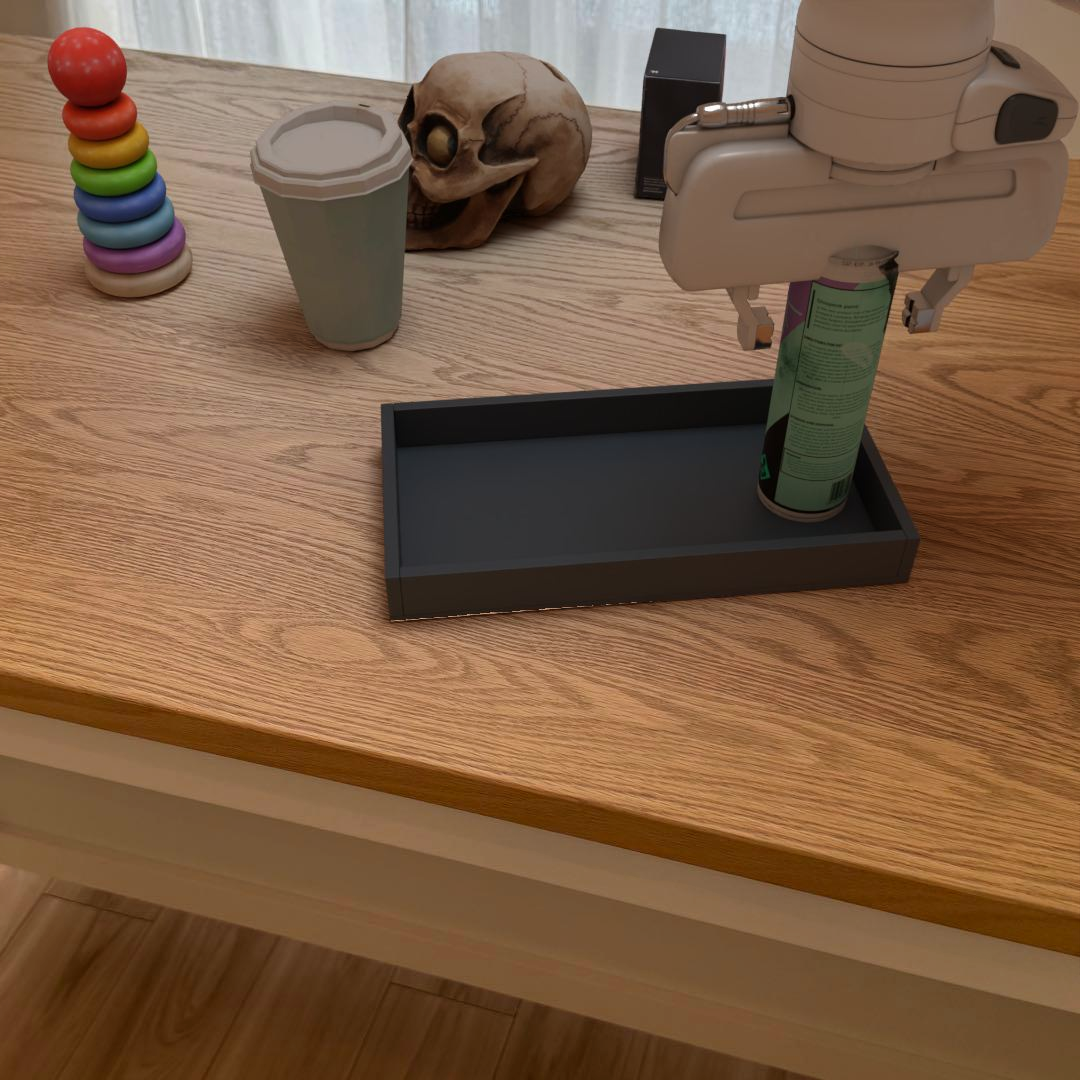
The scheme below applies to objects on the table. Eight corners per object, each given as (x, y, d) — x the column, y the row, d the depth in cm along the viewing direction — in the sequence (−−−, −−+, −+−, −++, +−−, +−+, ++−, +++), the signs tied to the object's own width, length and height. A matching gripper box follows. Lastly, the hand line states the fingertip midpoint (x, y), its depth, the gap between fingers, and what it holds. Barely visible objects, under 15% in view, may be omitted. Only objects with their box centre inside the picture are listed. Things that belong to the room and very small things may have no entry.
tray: (832, 417, 82) (841, 373, 80) (908, 582, 71) (921, 538, 69) (385, 447, 80) (380, 403, 78) (390, 623, 69) (384, 578, 66)
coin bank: (338, 235, 99) (335, 65, 91) (446, 167, 112) (452, 12, 103) (511, 289, 95) (525, 115, 86) (604, 212, 107) (623, 54, 99)
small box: (710, 205, 103) (723, 81, 96) (632, 199, 104) (639, 76, 97) (717, 148, 111) (730, 30, 104) (644, 143, 112) (652, 25, 105)
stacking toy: (77, 262, 97) (7, 18, 84) (178, 238, 99) (125, -3, 86) (102, 312, 92) (31, 60, 79) (207, 285, 94) (156, 37, 81)
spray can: (851, 473, 77) (919, 175, 64) (842, 530, 74) (911, 226, 60) (763, 457, 79) (812, 161, 65) (750, 513, 75) (798, 210, 61)
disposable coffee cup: (370, 385, 85) (347, 182, 75) (246, 342, 89) (207, 143, 78) (452, 311, 92) (441, 115, 81) (334, 274, 95) (309, 82, 85)
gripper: (683, 137, 55) (664, 388, 65) (1113, 102, 58) (1034, 350, 67) (652, 79, 60) (639, 321, 69) (1052, 49, 62) (986, 288, 72)
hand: (836, 335), depth 68 cm, fingers open, 8 cm apart
